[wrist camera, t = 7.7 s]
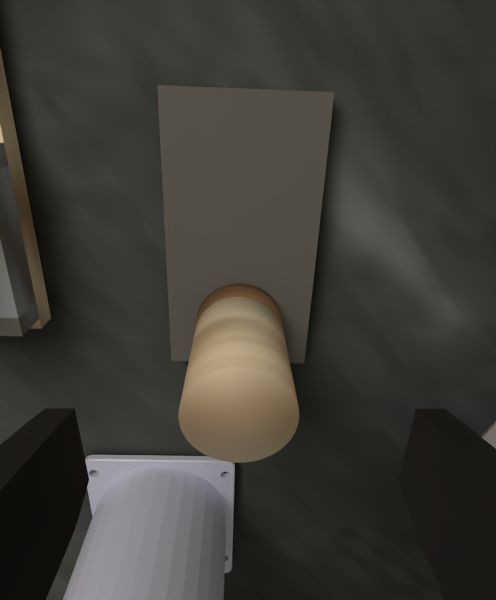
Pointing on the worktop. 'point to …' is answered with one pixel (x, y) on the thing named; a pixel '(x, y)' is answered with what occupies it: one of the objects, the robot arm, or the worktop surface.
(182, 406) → the sleeve band down
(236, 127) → the pad
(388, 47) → the worktop surface
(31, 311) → the socket board
